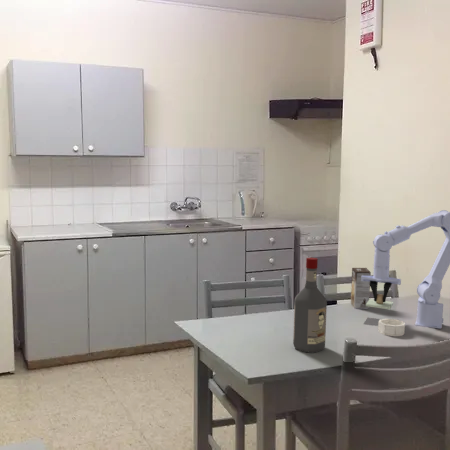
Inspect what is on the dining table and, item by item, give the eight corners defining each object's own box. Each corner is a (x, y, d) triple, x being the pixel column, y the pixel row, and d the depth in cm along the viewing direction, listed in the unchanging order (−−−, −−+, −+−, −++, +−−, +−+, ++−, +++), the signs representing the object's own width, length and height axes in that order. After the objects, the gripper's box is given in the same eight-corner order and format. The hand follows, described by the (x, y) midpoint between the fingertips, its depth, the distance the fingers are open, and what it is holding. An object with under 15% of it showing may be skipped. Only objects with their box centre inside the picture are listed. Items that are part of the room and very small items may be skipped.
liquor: (289, 347, 189) (292, 258, 185) (306, 341, 195) (309, 255, 192) (311, 354, 182) (314, 262, 179) (328, 348, 189) (331, 258, 185)
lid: (393, 303, 220) (393, 293, 220) (390, 309, 212) (390, 298, 212) (369, 300, 224) (370, 290, 223) (365, 306, 216) (366, 295, 215)
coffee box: (349, 303, 248) (351, 267, 246) (364, 303, 248) (366, 267, 246) (354, 309, 239) (355, 271, 237) (369, 309, 239) (371, 271, 237)
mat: (393, 321, 221) (393, 320, 221) (390, 328, 212) (390, 327, 212) (367, 318, 225) (367, 317, 225) (363, 324, 216) (363, 324, 216)
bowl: (405, 331, 209) (406, 320, 208) (402, 338, 201) (403, 327, 200) (380, 328, 212) (380, 317, 212) (376, 334, 204) (377, 323, 204)
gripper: (360, 266, 215) (358, 301, 217) (400, 269, 210) (398, 305, 211) (363, 263, 222) (362, 297, 223) (402, 266, 216) (400, 301, 218)
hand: (379, 301), depth 218 cm, fingers closed on lid, 3 cm apart
